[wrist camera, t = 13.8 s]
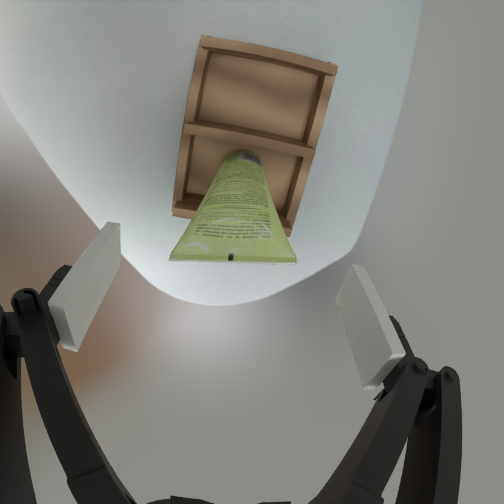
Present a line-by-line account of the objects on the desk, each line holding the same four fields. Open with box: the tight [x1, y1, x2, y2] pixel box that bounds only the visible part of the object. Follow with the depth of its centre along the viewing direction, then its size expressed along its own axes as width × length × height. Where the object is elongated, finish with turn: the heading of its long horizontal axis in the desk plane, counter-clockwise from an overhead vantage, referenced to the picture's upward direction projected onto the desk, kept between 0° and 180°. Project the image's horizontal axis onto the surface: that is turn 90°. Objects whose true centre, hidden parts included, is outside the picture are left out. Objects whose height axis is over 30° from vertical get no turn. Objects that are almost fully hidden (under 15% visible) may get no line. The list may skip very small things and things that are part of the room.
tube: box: [169, 150, 297, 265], centre depth 25 cm, size 6×5×20 cm
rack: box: [172, 35, 338, 237], centre depth 30 cm, size 20×14×6 cm
